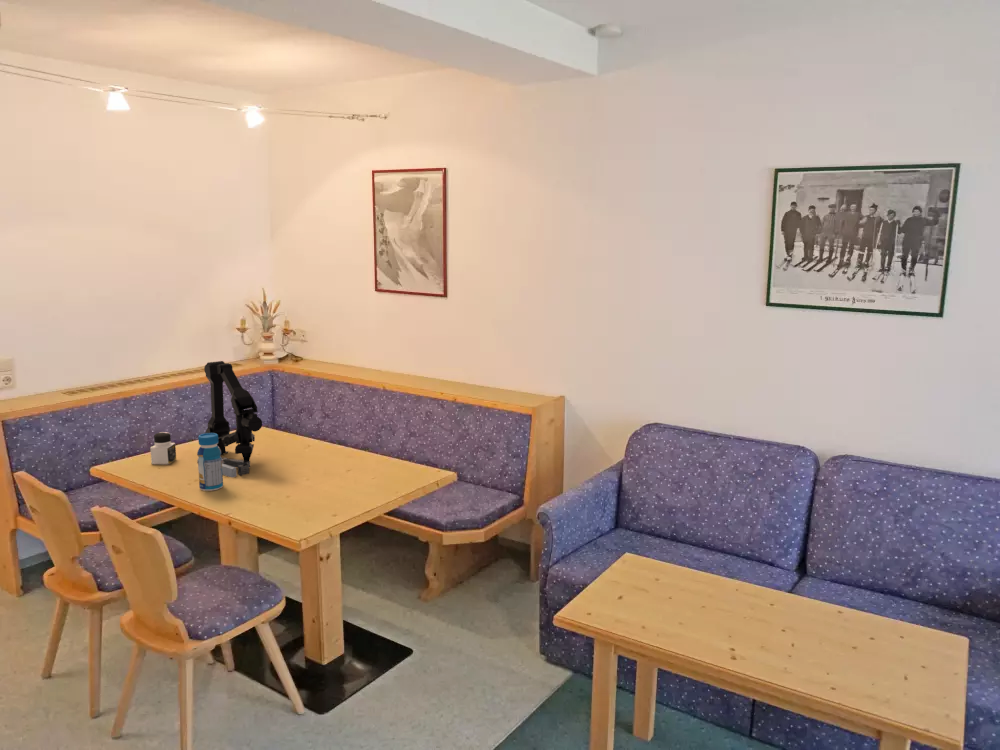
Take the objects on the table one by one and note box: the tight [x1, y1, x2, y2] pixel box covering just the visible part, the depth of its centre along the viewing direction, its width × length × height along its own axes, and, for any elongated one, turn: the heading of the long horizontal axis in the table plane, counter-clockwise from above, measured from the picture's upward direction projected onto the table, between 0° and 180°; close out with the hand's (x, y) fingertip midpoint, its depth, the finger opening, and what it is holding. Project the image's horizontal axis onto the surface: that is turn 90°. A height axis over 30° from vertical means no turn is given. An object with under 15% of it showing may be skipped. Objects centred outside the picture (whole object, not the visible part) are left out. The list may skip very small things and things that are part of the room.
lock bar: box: [222, 456, 251, 469], centre depth 303 cm, size 14×4×3 cm, turn 73°
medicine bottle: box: [150, 431, 177, 465], centre depth 311 cm, size 7×7×12 cm
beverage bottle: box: [196, 432, 224, 492], centre depth 279 cm, size 8×8×20 cm
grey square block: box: [237, 464, 250, 476], centre depth 297 cm, size 2×4×4 cm, turn 144°
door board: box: [222, 464, 238, 478], centre depth 299 cm, size 20×2×4 cm, turn 54°
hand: (246, 464), depth 305 cm, fingers closed
